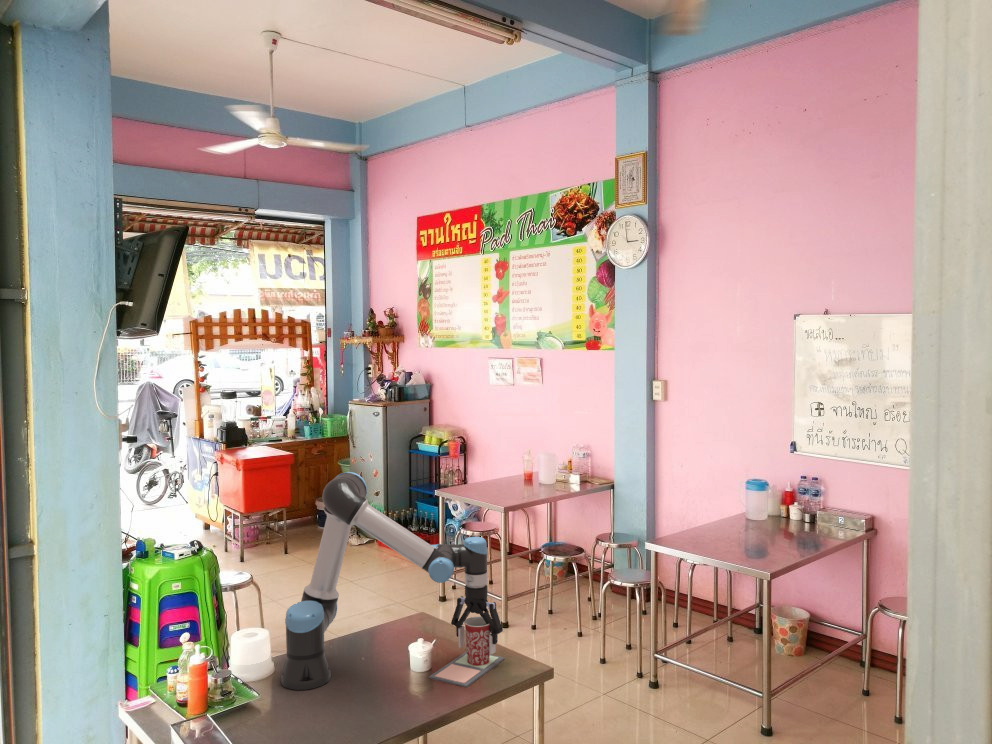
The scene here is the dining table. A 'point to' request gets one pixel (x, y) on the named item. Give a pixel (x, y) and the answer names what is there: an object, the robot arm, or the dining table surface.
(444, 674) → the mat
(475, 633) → the mug
